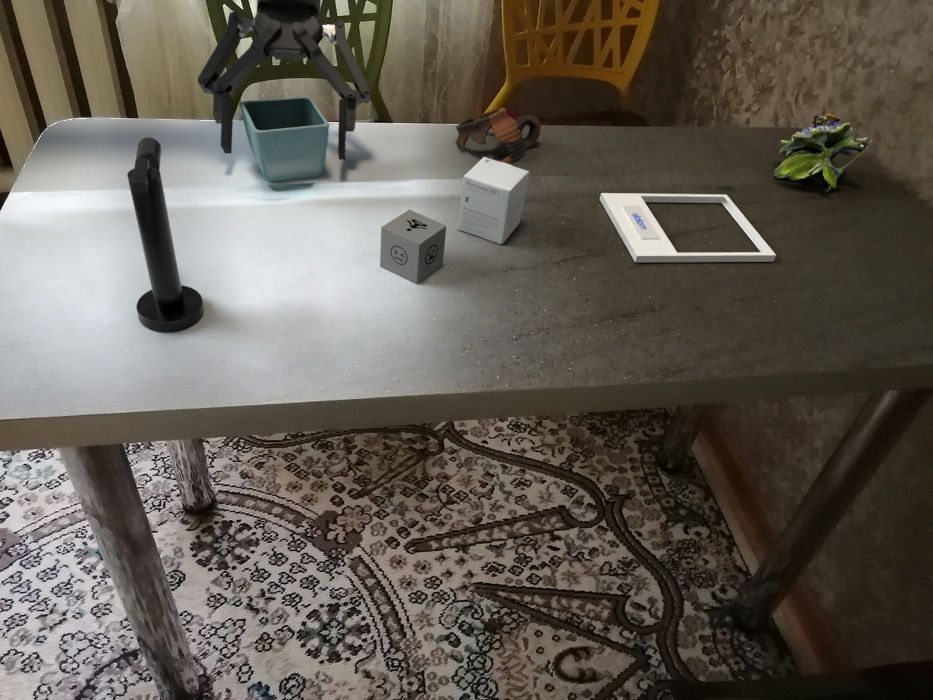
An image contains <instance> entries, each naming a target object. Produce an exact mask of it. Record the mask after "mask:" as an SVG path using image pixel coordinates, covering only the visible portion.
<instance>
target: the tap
mask: <svg viewBox="0 0 933 700" xmlns="http://www.w3.org/2000/svg"><path fill="white" fill-rule="evenodd" d="M161 159H162V146H161V143H160V142H159V140H157V139H156V138H153V137H150V136H149V137H144V138H142V139H140V140H139V142H138V144H137V149H136V155H135V161H134V167H133V168H132V169H130V170H129V171H128V172H127V174H126V175H127V180H128V185H129V190H130V195H131V199H132V200H131V201H132V204H133V209H134V213H135V217H136V222H137V227H138V231H139V236H140V241H141V245H142V251H143V254H144V259H145V264H146V268H147V269H146V270H147V274H148V278H149V283H150V286H151V289H150V290H148V291H146V292H145V293H143V294H142V295H141V296H140V297H139V298H138V300H137V302H136V307H135V308H136V313H137V316H138V320H139V322H140V323H141V325H142V326H144V327H145V328H147V329H149V330H152V331H155V332H159V333H160V332H161V333H172V332H173V333H174V332H178V331H183V330H185V329H188V328H190V327H192V326H194V325H195V324H197V323H198V322H199V321H200V320H201V318H202V317H203V315H204V312H205V309H204V300H203V297H202V295H201V294H200V292H199V291H197V290H196V289H194V287H193V288H192V287H190V286H188V285H183V284H182V283H181V278H180V273H179V268H178V267H179V266H178V262H177V256H176V251H175V246H174V240H173V234H172V229H171V224H170V219H169V212H168V208H167V207H168V206H167V203H166V197H165V196H166V195H165V192H164V185H163V179H162V176H161V175H162V174H161V171H160V169H161Z"/></svg>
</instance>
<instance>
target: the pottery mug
mask: <svg viewBox="0 0 933 700" xmlns="http://www.w3.org/2000/svg"><path fill="white" fill-rule="evenodd" d="M526 126H528V127H529V130H528V133H527V135H526V136H525V137H524V136H523V135H524V134H523V129H525V127H526ZM541 127H542V126H541V123H540V120H539V119H538V118H537V117H536V116H535V115H532V114H525V115H521V116H518V117H512V116H509V115H508V112H507V108H505V107H499V108H496V109H492V110H489V111H486V112H483V113H481V114H479V119H476V120H474V118H473V117H470V118H467V119H466V120H464V121H461V122H460V123H458V124H457V125H456V126H455V129H456V131H457V133H458V134H457V137H456V141H455V142H456V143H457V144H458V145H460V147H461V149H462V150H464V149H465V148H466V144H467V141H468V139H469V138H470V139H471V140H473V141H474V142H476V144H478V145H486V144H487V141H486V140H487V139H486V138H487V137H488V136H487V135H488V133H489V131H490V130H492V131H493V134H494V138H495V140H497V142H499V144H504V146H505V149H506V151H507V156H506V157H505V158H503V159H501V160H498V161H499V162H503V163H507V164H510V165H512V164H514V163H515V164H516V163H517V162H520V160H521V159H523V157H524V156H525V155H526V151H527V150H528V149H530V148H531V147H533V146H534V144H535V143H536V142H537V141H538V139H539V137H540V135H541Z"/></svg>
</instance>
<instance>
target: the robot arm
mask: <svg viewBox="0 0 933 700" xmlns="http://www.w3.org/2000/svg"><path fill="white" fill-rule="evenodd" d="M321 2H322V1H321V0H256V14H255V16H254V17H253V19H252V18H249V17H243V16H240V15H239V13H238V12H237V11H231V12H230V13H229V15H228V20H227V25H226V30H225V31H224V33H223V35H222V36H221V38H220V39H219V41H218V43H217V45H216V46H215V48H214V50H213V51H212V53H211V55H210V57H209V58H208V60H207V62H206V63H205V65H204V66H203V68H202V70H201V71H200V73H199V75H198V76H197V84H198V85H199V86H200V89H201V90H202V92H203V93H205V94H211V95H213V98H212V116H213V119H214V121H215V123H216V124H218V125H219V124H220V126H221V127H220V148H221V149H222V150H223V152H224V154H230V155H231V154H232V153H233V152H232V149H233V124H234V123H233V122H234V99H233V98H232V95H231V94H232V93H233V92H234V91H235V90H236V89H237V88H238V87H239V86H240V85H241V84H242V83H243V82H244V80H246V79H247V78H248V77H249V76H250V74H251V73H252V72H254V70H255V69H256V68H258V67H259V66H260V65H261V64H263V63H265V62H266V61H267V60H268V59H269V58H270V57H273V58H274V59H275V60H280V61H285V60H291V61H295V62H302V60H304V59H306V58H307V59H308V61H309V62H310V63H311V64H312V65H313V67H315V68H316V69H317V70H318V72H319V73H320V74H321V75H322V76H323V77H324V79H325V80H326V82H327V83H329V85H330V86H331V88H332V89H333V90H334V91H335V92H336V94H337V95H338V96H339V98H340V99H339V98H338V99H339V100H338V101H339V102H338V103H339V104H338V137H337V139H338V140H337V156H338V160H342V161H343V160H344V161H345V160H346V141H347V140H346V139H347V132H352V133H354V131H355V129H356V115H357V113H356V111H357V107H358V106H359V105H360V104H369V103H370V102H371V99H372V98H371V97H372V95H371V94H372V91H371V88H370V86H369V83H368V81H367V79H366V77H365V75H364V73H363V71H362V69H361V67H360V65H359V62H358V60H357V58H356V56H355V54H354V52H353V50H352V48H351V46H350V43H349V41H348V40H347V39H348V38H347V36H346V34H347V33H346V25H345V22H344V20H341V19H338V20H336V21H335V22H334V24H323V23H322V21H321V7H322V6H321V4H322V3H321ZM249 32H253V33H254V35H255V36H256V38H255V39H254V40H253V41H252V42H251V44H250V47H248V49H246V50H245V51H244V52H243V54H242V55H240V57H239V58H237V60H236V61H235V62H234V63H233V64H232V65H231V66H230V67H228V69H227V70H226V68H227V66H228V64H229V62H230V61H231V59H232V57H233V55H234V54H235V52H236V50H237V49H238V47H239V45H240V43H241V39H245V38H246V37H247V35H248V33H249ZM324 37H326V38H328V40H329V42H330V43H331V44H332V45H334V46H336V49H337V52H338V54H339V57H340V59H341V61H342V63H343V66H344V67H345V70H346V72H347V73H348V75H349V78H350V80H351V82H352V85H353V86H354V88H355V89H353V88H352V87H351V86H350V85H349V83H348V82H347V80H345V79H344V77H343V76H342V75H341V74H340V72H339V71H338V70H337V69H336V67H335V66H334V65H333V63H332V62H331V61H330V60H329V58H328V57H327V56H326V55H325V53H324V52H323V51H322V49H321V47H320V46H319V44H320V43H321V41H322V40H323V38H324ZM225 70H226V71H225ZM224 71H225V72H224Z"/></svg>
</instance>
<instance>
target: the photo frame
mask: <svg viewBox="0 0 933 700" xmlns="http://www.w3.org/2000/svg"><path fill="white" fill-rule="evenodd" d="M599 201H600V203H601V205H602V207H603V208H604V210H605V212H606V214H607V215H608V218H609V219H610V220H611V223H612V224H613V226H614V228H615V229H616V232H617V233H618V235H619V236H620V239H621V240H622V242H623V244H624V245H625V247H626V249H627V250H628V252H629V254H630V256H631V258H632V260H633V261H634V263H750V262H752V263H755V262H756V263H765V262H770V263H773V262H774V261H775V259H776V257H777V254H776V253H775V252H774V250H773V249H772V248H771V247H770V245H768V243H767V242H766V240H764V239H763V237H762V236H761V235H760V233H759V232H758V231H757V230H756V229H755V227H754V226H753V225H752V223H750V221H749V220H748V218H747V217H746V216H745V215H744V214H743V212H742V211H741V210H740V209H739V208H738V207H737V206H736V204H735V203H734V201H733V200H732V199H731V198H730V196H728V195H727V194H713V193H712V194H711V193H710V194H709V193H708V194H706V193H705V194H704V193H634V192H633V193H630V192H629V193H625V192H624V193H622V192H617V193H616V192H601V193H600V196H599ZM646 203H677V204H678V203H684V204H686V203H687V204H688V203H689V204H692V203H693V204H694V203H695V204H722V205H723V207H724V208H725V209H726V210H727V211H728V213H729V214H730V215H731V217H732V218H733V219H734V221H735V222H736V223H737V224H738V225H739V227H740V228H741V229H742V231H743V232H744V234H746V235H747V237H748V238H749V239H750V240H751V241H752V243H753V244H754V245H755V247H756V248H757V249H758V251H757V252H756V251H753V252H751V251H750V252H748V251H747V252H742V251H741V252H737V251H736V252H731V251H729V252H718V251H717V252H678V251H677V250H676V248H675V247H674V245H673V244H672V242H671V240H670V239H669V237H668V236H667V234H666V233H665V231H664V230H663V228H662V226H661V225H660V223H659V222H658V220H657V219H656V217H655V216H654V215H653V213H652V211H651V210H650V208H649V207H648V205H647V204H646Z"/></svg>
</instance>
